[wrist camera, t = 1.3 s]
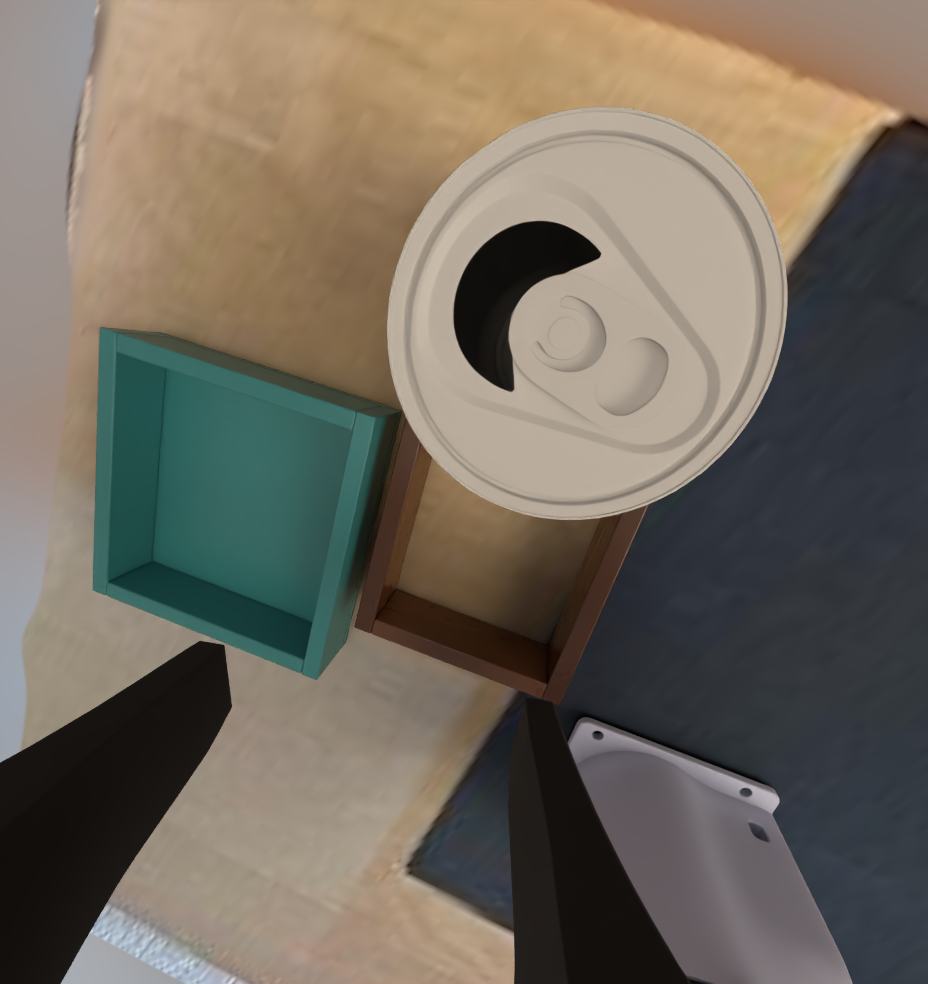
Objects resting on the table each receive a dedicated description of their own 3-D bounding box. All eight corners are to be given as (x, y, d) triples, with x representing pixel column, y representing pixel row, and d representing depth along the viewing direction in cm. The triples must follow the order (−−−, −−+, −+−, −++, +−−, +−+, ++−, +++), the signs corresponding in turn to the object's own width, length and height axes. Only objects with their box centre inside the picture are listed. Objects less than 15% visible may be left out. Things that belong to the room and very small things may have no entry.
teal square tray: (401, 410, 20) (375, 417, 17) (345, 642, 23) (316, 680, 21) (161, 332, 21) (98, 326, 18) (145, 565, 25) (91, 590, 22)
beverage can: (538, 234, 17) (506, -48, 5) (681, 329, 17) (953, 244, 5) (450, 381, 19) (294, 401, 7) (577, 466, 19) (614, 617, 7)
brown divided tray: (732, 262, 16) (768, 241, 13) (558, 664, 21) (559, 706, 19) (481, 195, 17) (468, 163, 14) (377, 597, 22) (353, 627, 20)
